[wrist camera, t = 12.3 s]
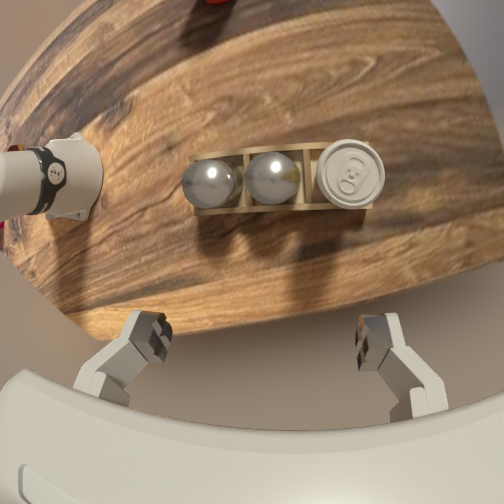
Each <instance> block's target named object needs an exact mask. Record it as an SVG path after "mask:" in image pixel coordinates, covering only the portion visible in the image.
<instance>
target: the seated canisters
mask: <svg viewBox="0 0 504 504" xmlns="http://www.w3.org/2000/svg"><path fill="white" fill-rule="evenodd" d="M245 184H246V187H247V189H248V191H249V193H250V194H251V195H252V196H253V197H254V198H255V199H256V200H258V201H259V202H262V203H265V204H278V203H281V202H284V201H285V200H287V199H288V198H290V197H291V196H292V195H294V194H295V193H296V192H297V190H298V189H299V187H300V184H301V173H300V170H299V168H298V166H297V165H296V164H295V163H294V162H293V161H292V160H291V159H289V158H288V157H286V156H285V155H283V154H280V153H277V152H265V153H262V154H259V155H257V156H256V157H255V158H253V159H252V160H251V162H250V163H249V164H248V166H247V169H246V172H245ZM182 186H183V192H184V194H185V197H186V198H187V200H188V201H189V202H190V203H191V204H192V205H194V206H196V207H198V208H202V209H209V208H213V207H216V206H219V205H222V204H225V203H229V202H231V201H234V200H235V199H236V198H238V196H239V195H240V194H241V192H242V190H243V186H244V178H243V175H242V172H241V171H240V169H239V168H238V167H237V166H235V165H234V164H232V163H229V162H223V161H216V160H207V159H204V160H199V161H196V162H194V163H193V164H192V165H190V166H189V168H188V169H187V170H186V172H185V174H184V177H183V182H182Z"/></svg>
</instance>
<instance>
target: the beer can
mask: <svg viewBox="0 0 504 504" xmlns="http://www.w3.org/2000/svg"><path fill="white" fill-rule="evenodd" d="M316 177H317V182H318V185H319V188H320V190H321V191H322V193H323V194H324V196H325V197H326V198H327V199H328V200H329V201H330V202H332V203H333V204H335V205H336V206H339V207H341V208H345V209H360V208H363V207H366V206H368V205H369V204H371V203H372V202H374V201H375V200H376V199H377V197H378V196H379V195H380V193H381V191H382V189H383V186H384V181H385V171H384V167H383V163H382V161H381V159H380V157H379V156H378V154H377V153H376V152H375V151H374V150H373V149H372V148H371V147H370V146H368V145H367V144H365V143H363V142H361V141H357V140H352V139H346V140H340V141H337V142H335V143H333V144H331V145H330V146H328V147H327V148H326V149H325V150H324V151H323V153H322V154H321V156H320V158H319V160H318V163H317V168H316Z"/></svg>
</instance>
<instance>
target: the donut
mask: <svg viewBox="0 0 504 504" xmlns="http://www.w3.org/2000/svg"><path fill="white" fill-rule="evenodd" d="M10 151H24V150H23V147H22V146H21V145H20V144H17V145H12V146H10V147H9V149H8V151H7V152H10Z"/></svg>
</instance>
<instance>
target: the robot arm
mask: <svg viewBox="0 0 504 504" xmlns="http://www.w3.org/2000/svg"><path fill="white" fill-rule="evenodd" d="M102 178H103V168H102V162H101V158H100V155H99V153H98V151H97V149H96V148H95V146H94V145H92V144H91V143H89V142H88V141H86V140H85V138H84V136H83V135H82V133H81V132H76V133H74V134H73V135H72V136H70V137H69V138H68V139H56V140H51V141H50V142H49V143H48V144H47V145H46V146H45V147H33V148H28V149H26V150H25V151H10V152H0V223H1V222H3V221H6V220H9V219H11V218H14V217H18V216H21V215H25V214H26V215H38V214H41V213H46V220H51V219H56V218H58V217H62V218H68V219H74V220H80V221H85V220H87V219H88V216H89V213H90V209H91V207H92V205H93V204H94V202H95V201H96V199H97V197H98V195H99V192H100V189H101V185H102ZM166 318H167V317H166V316H165V314H164V313H160V312H150V311H142V310H132V311H131V312H130V314H129V316H128V318H127V321H126V323H125V325H124V327H123V329H122V332H121V334H120V336H119V338H115V339H114V340H113V341H112V342H111V343H109V344H108V345H107V346H106V347H104V348H103V349H102V350H101V351H99V352H98V353H97V354H96V355H94V356H93V357H92V358H91V359H90V360H89V361H87V362H86V363H85V364H83V365H82V367H81V370H80V372H79V374H78V377H77V379H76V381H75V384H74V386H73V388H70V387H68V386H66V385H63V384H61V383H58V382H56V381H54V380H52V379H49V378H47V377H45V376H43V375H41V374H39V373H37V372H35V371H33V370H30V369H24V370H22V371H20V372H19V373H18V374H16V375H15V376H14V377H13V378H11V379H10V380H9V381H7V383H6V384H5V385H4V387H3V388H2V390H1V392H0V504H504V391H502V392H499V393H497V394H494V395H492V396H489V397H486V398H484V399H481V400H478V401H475V402H472V403H469V404H466V405H463V406H460V407H457V408H453V409H450V410H449V408H448V402H447V397H446V392H445V388H444V383H443V381H442V380H441V379H440V378H439V377H438V376H437V374H436V373H435V372H434V371H433V370H432V369H431V368H430V367H429V366H428V365H427V364H426V363H425V362H424V361H423V360H422V359H421V358H420V357H419V356H418V355H417V354H416V353H415V352H414V351H413V350H412V349H411V348H410V347H409V346H406V345H405V341H404V337H403V333H402V329H401V326H400V322H399V318H398V315H397V314H396V313H387V314H383V313H382V314H369V315H361V316H360V318H359V326H357V328H356V332H355V347H356V349H357V350H358V351H359V353H358V356H357V363H358V371H373V370H378V373H379V374H380V375H381V377H382V378H383V379H384V381H385V382H386V384H387V385H388V386H389V388H390V389H391V390H392V392H393V393H394V394H395V396H396V397H397V399H398V400H399V402H398V403H397V404H396V405H395V406H394V407H393V408H392V409H391V411H390V423H386V424H379V425H371V426H364V427H354V428H342V429H328V430H264V429H248V428H236V427H227V426H219V425H211V424H204V423H198V422H191V421H186V420H180V419H175V418H170V417H165V416H161V415H156V414H152V413H148V412H144V411H140V410H136V409H133V408H129V407H128V405H129V402H130V399H131V397H130V395H129V394H128V393H126V392H125V391H124V390H123V389H124V388H125V387H126V386H127V385H128V384H129V382H130V381H131V380H132V379H133V378H134V377H135V376H136V375H137V374H138V373H139V372H140V371H141V370H142V369H143V368H144V367H145V365H147V363H148V362H151V363H159V364H164V363H165V359H166V356H167V353H168V351H167V348H166V347H167V346H168V345H169V344H170V343H171V341H172V334H173V331H172V327H171V325H170V323H168V322H167V321H165V320H166Z"/></svg>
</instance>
